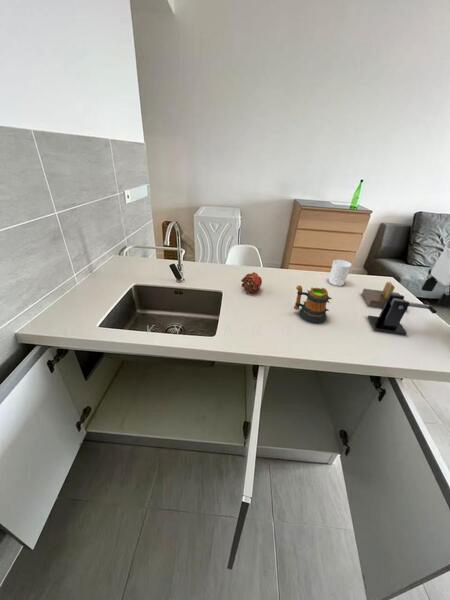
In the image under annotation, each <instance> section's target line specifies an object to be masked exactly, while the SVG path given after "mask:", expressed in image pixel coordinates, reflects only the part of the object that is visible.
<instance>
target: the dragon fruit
mask: <svg viewBox="0 0 450 600" xmlns="http://www.w3.org/2000/svg"><path fill="white" fill-rule="evenodd" d="M240 281H241V282H242V283H241V288H244V289H245V291H247V292H249V293H255V292H256V291H260V290H261V286H262V283H263V280H262V277H261V276H259V274H258V273H257V272H252V273H247V274H245V275H244V276H243V278H241V280H240Z"/></svg>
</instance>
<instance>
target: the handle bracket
mask: <svg viewBox="0 0 450 600" xmlns="http://www.w3.org/2000/svg"><path fill="white" fill-rule="evenodd" d="M393 298H399V299H402V300H403V299H404V300H405V296H404V295H401V294H400V295H394V294H389V296H388V298H387V300H386V303H385V305H384V307H383V308H381V311H380V313H379V315H378V316H376V315H368V316H367V320H368V322H369V324H370V326H371V327H372V329H373V331H374V332H378V333H385V334H392V335H399V336H406V335H407V331H406V330H405V328H404V326H402V324H401V321H402V319H403V317H404V315H405V314H406V312H407V310H408V308H409V304H410V303H411V302H410V301H406V300H405V301H400V300H394V301H393V303H392V305H391V304H390V303H391V301H392V299H393Z"/></svg>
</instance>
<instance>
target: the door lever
mask: <svg viewBox="0 0 450 600" xmlns="http://www.w3.org/2000/svg"><path fill="white" fill-rule="evenodd" d="M394 300H400V301H403V300H402V299H399V298H393V299H392V301H391V303H390V304H391V305H392V303H393V301H394ZM409 303H410V304H409V306H408V308H418V309H426V310H428V311H430V312H431V313H432V314H433V315H435V314H437V312H438V311H437V310H436V309H435V308H434V307H433V306H432V305H431V304H430V303H429V302H428V301H427V300H424V301H423V303H416V302H409Z"/></svg>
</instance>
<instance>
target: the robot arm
mask: <svg viewBox="0 0 450 600" xmlns="http://www.w3.org/2000/svg"><path fill="white" fill-rule="evenodd" d="M438 282H439V283H440V284H441V285H443V286H445V293H442V295H441V296H440V298H439V300H438V301H437V303H436V305H437V306H440V307H446V308H449V307H450V241H449V242H448V243H447V245H446V246H445V248H444V250H443V251H442V253H440V255H439V257H438V258H437V260H436V261H435V262H433V263H430V265H429V270H428V271H427V275H426V280H425V281H424V283H423V285H422V287H421V291H424V292H433V291H434V289H435V288H436V286H437V284H438Z"/></svg>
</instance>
